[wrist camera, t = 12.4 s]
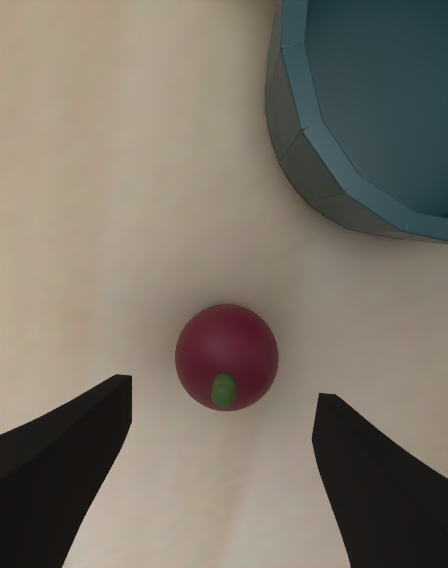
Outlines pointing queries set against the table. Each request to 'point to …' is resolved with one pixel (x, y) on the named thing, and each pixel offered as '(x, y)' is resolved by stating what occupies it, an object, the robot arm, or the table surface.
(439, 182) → the pot
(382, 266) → the table surface
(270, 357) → the beet
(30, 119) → the table surface
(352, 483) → the robot arm
